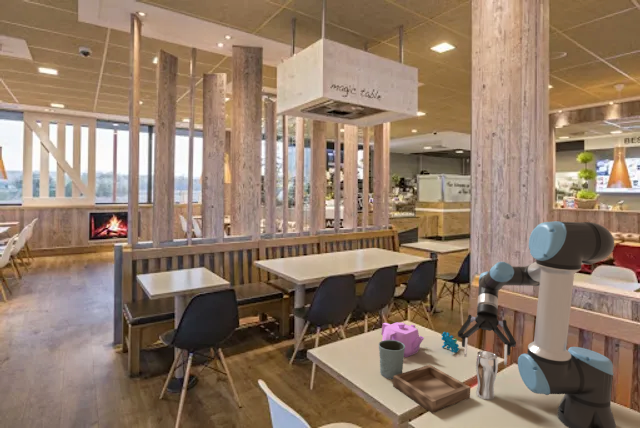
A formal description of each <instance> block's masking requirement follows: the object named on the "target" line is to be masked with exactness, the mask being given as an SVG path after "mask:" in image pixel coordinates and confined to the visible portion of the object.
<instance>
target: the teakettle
mask: <svg viewBox="0 0 640 428" xmlns="http://www.w3.org/2000/svg"><path fill="white" fill-rule="evenodd" d="M381 325H382V327H381V332H380V333H381V335H382V340H381V341H384V340H396V341H399V342H401V343H403V344H404V345H405V351H404V358H408V357H411V356H412V355H413V356H414V355H415V354H417V353H418V352H419V351H420V345H421V344H422V342H423V341H424V340H425V337H423V336H422V335H420V334H419V329H418V328H416V325H415V324H410V325H408V324H405V323H404V322H397V321H396V322H394V323H391V324H390V323H388V322H384V323H381Z"/></svg>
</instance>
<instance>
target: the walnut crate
mask: <svg viewBox="0 0 640 428" xmlns="http://www.w3.org/2000/svg"><path fill="white" fill-rule="evenodd" d="M392 381H393V382H392V387H393V388H394V389H396V390H398V391H399V392H401V394H403V395H405V396H406V397H408V398H409V399H411V401H413V400H414V401H413V402H415V403H416V404H418V405H419V406H421V407H422V408H423V409H425V410H426V411H428V412H429V413H431V414H434V413H437V412H440V411H441V410H444V409H446V408H448V407H451V406H454V405H456V404H458V403H462V402H463V401H466V400H468V399H470V398H471V386H470V385H467V384H465V383H464V382H462V381H460V380H458V379H456V378H455V377H453V376H452V375H449V374H448V373H445V372H444V371H442V370H440V369H438V368H437V367H435V366H433V365H431V364H428V365H424V366H421V367H418V368H414V369H411V370H408V371H405V372H402V373H401V374H398V375H395V376H393V379H392Z"/></svg>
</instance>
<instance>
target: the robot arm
mask: <svg viewBox="0 0 640 428" xmlns="http://www.w3.org/2000/svg"><path fill="white" fill-rule="evenodd" d="M614 239H615V238H614V236H613V235H612V233H611V231H610V230H609V229H607V228H606V227H605V226H603V225H601V224H599V223H596V222H593V221H592V222H591V221H581V222H580V221H559V220H557V221H556V220H554V221H545V222H541V223H538V224H537V225H536V227H534V228H533V230H532V231H531V233H530V235H529V239H528V250H529V253H530V255H531V257H532V258H534V259H535V262H532V263H531V264H529V265H526V266H525V265H524V266H512V265H511V264H510V263H508V262H506V261H498V262H496V263H495V264H494V265H493V266H491V268H490V270H489V271H484V272H481V273H480V275H479V278H478V291H477V293H478V294H477V307H476V316H472V314H468V316H467V319H466V321H465V322H464V323H463V325H462V326H461V328H460V329H459V330H458V332H457V337H458V338H461V346H462V348H464V352H463V355H464V357H465V358H467V355H468V354H467V353H468V343H469V342H468V340H469V339H468V338H469V337H470V336H471V335H473V334H474V333H476V332H477V331H479V330H480V329H481V330H484V331H487V332H488V331H489V332H490V331H492V332H493V333H495V334H496V335H497V337H498V338H499V339H500V340H501V342H503V344H504V349H503V350H504V353H503V354H504V356H503V357H504V359H503V362H504V363H503V365H505V366H506V365H507V363H508V356H511V353H512V352H511V348H513V347H514V348H515V347H516V345H517V342H516V340H515V338H514V336H513V334H512V332H511V330H510V328H509V326H508V325H507V320H506V319H503V320H499V319H498V318H499V316H498V315H499V314H498V308H499V291H500V290H501V289H502V288H504V286H516V287H517V286H519V287H520V286H525V287H528V286H529V287H530V286H533V287H538V296H537V305H536V316H535V317H536V318H535V329H534V338H533V341H532V342H530V343H528V345H527V352H526V353H521V354H520V355H519V356H518V359H517V368H518V372H519V375H520V378H521V381H522V382H523V383H524V385H525V387H526V388H527V389H528V390H529V391H530V392H532V393H534V394H539V395H546V396H548V395H564V396H563V397H562V399H561V401H560V403H559V404H558V406H557V418H558V420H559V421H560V422H561V423H562V424H563V425H564V426H565V427H567V428H617V425H616V421H615V418H614V414H613V412H612V408H611V403H612V401H611V400H612V390H613V389H612V388H613V380H614V375H615V374H614V364H613V362H612V360H611V359H610V358H608V357H607V356H605V355H603V354H601V353H599V352H597V351H593V350H591V349H588V348H584V347H579V346H571V347H569V348H568V349H567V345H568V344H567V343H568V337H569V336H568V335H569V327H570V318H571V317H570V316H571V310H572V309H571V307H572V299H573V290H574V289H573V287H574V281H575V274H576V273H578V272H579V271H581V270H582V266H583V265H594V264H596V263H598V262H601V261H603V260H605V259H607V258H608V257H609V256H610V255H611V254H612V253H613V250H615V249H614V248H615V240H614ZM474 321H475V324H474V325H473V326H471V328H469V326H470V325H471V323H473V322H474ZM498 326H500V327H501V328H502V329H503V331H504V333H505V335H504V333H502V331H501V329H499V327H498ZM468 328H469V329H468ZM467 329H468V330H467Z"/></svg>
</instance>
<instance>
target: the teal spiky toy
mask: <svg viewBox="0 0 640 428" xmlns="http://www.w3.org/2000/svg"><path fill="white" fill-rule="evenodd" d="M454 337H455V336H454V335H451V334H450V332H448V331H447V332H446V331H443V333H442V334H441V341H443V342H442V343H443V345H441V348H442V349H444V348H446V349H447V350H450V352H451V353H458V351H459V350H460V349H459V347H460V346H459V344H458V343H457V341H458V338H454Z"/></svg>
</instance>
